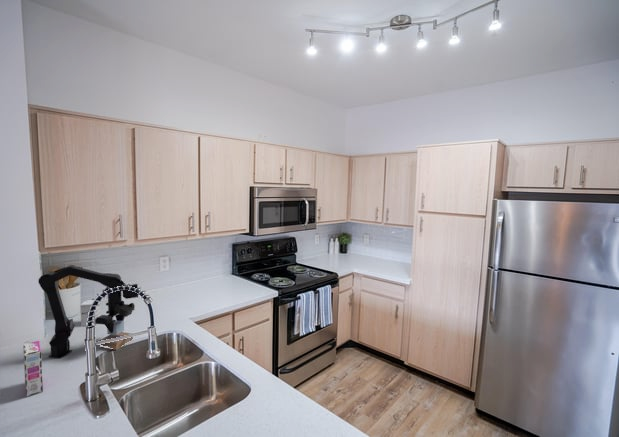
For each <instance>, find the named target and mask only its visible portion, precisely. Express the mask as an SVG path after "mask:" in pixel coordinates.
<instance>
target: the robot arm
mask: <svg viewBox="0 0 619 437" xmlns="http://www.w3.org/2000/svg"><path fill="white" fill-rule="evenodd" d="M69 276H72V277H75V278H79V279H80V278H81V279H84V280H89V281H93V282H96V283H100V284H101V285H102V286H104V287H105V288H104V289H103V291H102V293H103V292H104V291H106V290H108V289H109V288H114V287H117V286H122V285H123V286H127V285H129V286H132V287H135V288H137V289H138V290H139V287H138V283H134V284H127V285H126V283H125V281H123V280H122V277H121V275H120V274H118V273H109V272H107V273H104V272H98V271H95V270H91V269H86V268H83V267H78V266H76V265H74V264H73V265H72V264H69V265H68V266H67V265H66V266H65V267H63V268H60V269H57V270H47V271H46V272H45V273H43V274H42V275H41V276H40V277H39V278H38V279H37V280H38V285H39V286H40V288H41V289H42V290H43V291H44V293H45V294H46V295H47V299H48V303H49V306H50V310H51V313H52V315H53V319H54V322H55V323H54V335H53V336H51V339H50V341H49V342H48V344H49V346H50V354H49V355H47V357H48V358H53V359H61V358H63V357H66V356H67V355H69V354H70V353H72V352H73V350H72V349H71V345H70V344H71V343H70V342H71V341H70V339H69V338H70V337H71V335H72V334H73V332H74V330H75V327H76V325H75V324H74V318H71V319H69V318H68V317H67V314H66V311H65V307H64V304H63V300H62V297H61V294H60V290H59V286H60V280H62V279H64V278H67V277H69ZM122 298H124V299H125V300H128V299H136V298H139V293H138V294H137V293H135V292H132V291H128V290H120V291H116V292H113V293H110V294H108V293H107V302H105V306H107V310H106V313H105V314H102V315H101V314H100V316H99V317H97V318H96V319H95V324H96V325H104V326H105V327H106V329H107V328H108V330H109V331H110V333H113V325H114V322H115V321H116V320H118V321H124V319H125V318H127V317H128V316H130V315H132V313H133V312H134V311H135V307H136V306H135V303H133V302H131V303H126V304H125V301H124V300H122ZM114 318H115V319H114Z"/></svg>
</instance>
